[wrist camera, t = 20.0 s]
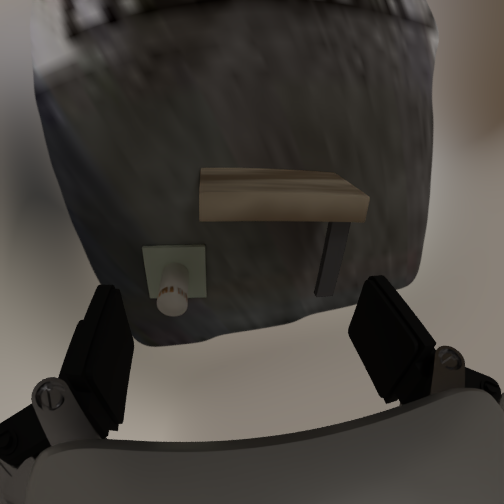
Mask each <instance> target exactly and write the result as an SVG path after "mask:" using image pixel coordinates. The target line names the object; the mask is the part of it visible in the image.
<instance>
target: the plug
mask: <svg viewBox="0 0 504 504" xmlns="http://www.w3.org/2000/svg"><path fill="white" fill-rule="evenodd" d="M188 283H189V272H188V269H187V268H186V267H185V266H184V265H182V264H180V263H175V262H174V263H169V264H167V265H166V266H165V267H164V268H163V271H162V276H161V281H160V287H159V292H158V298H157V307H158V309H159V310H160V311H161V312H162V313H163V314H165V315H168V316H179V315H181V314H183V313H184V312H185V311H186V310H187V306H188Z"/></svg>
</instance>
